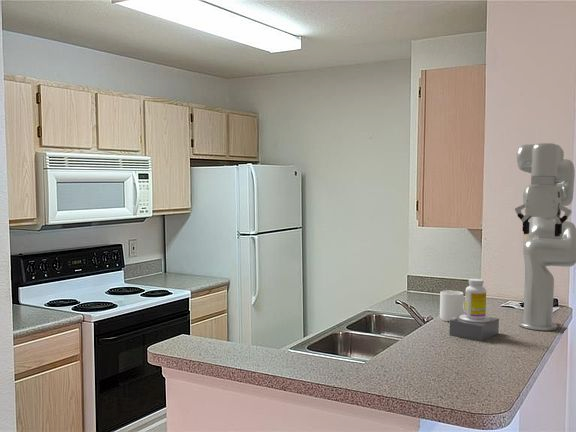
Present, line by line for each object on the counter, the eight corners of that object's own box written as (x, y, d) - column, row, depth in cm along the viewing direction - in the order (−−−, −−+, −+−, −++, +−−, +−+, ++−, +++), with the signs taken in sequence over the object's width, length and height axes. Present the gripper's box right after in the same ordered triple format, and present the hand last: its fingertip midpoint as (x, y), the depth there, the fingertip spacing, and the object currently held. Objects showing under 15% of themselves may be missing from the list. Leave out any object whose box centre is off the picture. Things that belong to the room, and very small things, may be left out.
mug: (456, 315, 224) (457, 288, 223) (474, 319, 217) (475, 292, 216) (434, 318, 217) (435, 291, 217) (452, 323, 210) (452, 295, 210)
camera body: (467, 327, 205) (468, 311, 205) (498, 333, 198) (499, 316, 197) (449, 334, 195) (449, 317, 194) (481, 341, 187) (481, 323, 187)
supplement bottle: (489, 318, 194) (491, 280, 194) (475, 320, 191) (476, 282, 191) (474, 314, 200) (475, 277, 200) (460, 316, 197) (461, 278, 196)
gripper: (576, 182, 184) (573, 236, 185) (520, 181, 196) (518, 232, 197) (568, 182, 179) (566, 237, 180) (512, 181, 190) (510, 233, 191)
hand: (541, 235), depth 188 cm, fingers open, 9 cm apart
